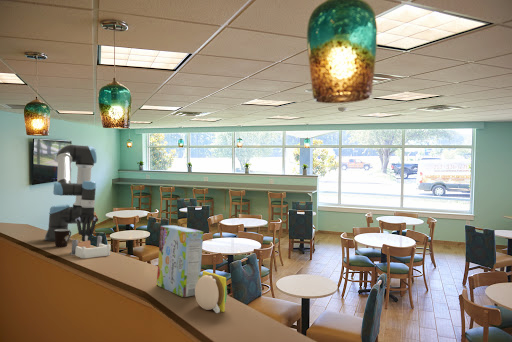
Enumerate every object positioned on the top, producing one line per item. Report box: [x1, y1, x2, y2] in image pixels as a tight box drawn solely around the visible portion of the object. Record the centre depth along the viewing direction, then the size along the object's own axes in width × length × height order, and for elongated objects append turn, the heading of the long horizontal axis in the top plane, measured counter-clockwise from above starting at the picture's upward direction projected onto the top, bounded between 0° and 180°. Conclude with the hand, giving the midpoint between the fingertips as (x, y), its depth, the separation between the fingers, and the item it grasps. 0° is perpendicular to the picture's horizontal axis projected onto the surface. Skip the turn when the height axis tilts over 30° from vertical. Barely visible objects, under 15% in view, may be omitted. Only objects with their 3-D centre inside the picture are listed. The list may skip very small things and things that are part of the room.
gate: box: [71, 239, 91, 253], centre depth 214 cm, size 13×3×7 cm, turn 164°
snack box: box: [156, 224, 204, 298], centre depth 154 cm, size 22×9×26 cm, turn 43°
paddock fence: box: [69, 235, 111, 259], centre depth 210 cm, size 15×17×9 cm
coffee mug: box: [54, 228, 72, 248], centre depth 230 cm, size 12×9×10 cm
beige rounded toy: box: [194, 270, 228, 314], centre depth 134 cm, size 12×8×12 cm
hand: (84, 246), depth 220 cm, fingers closed
